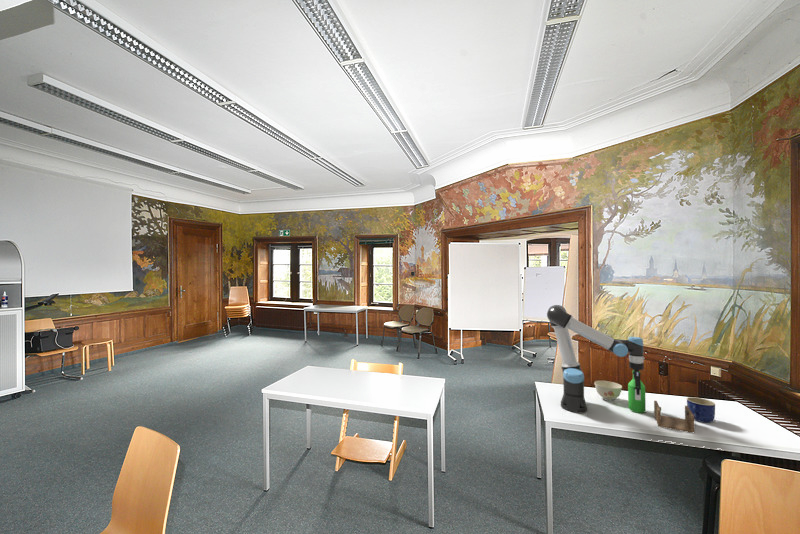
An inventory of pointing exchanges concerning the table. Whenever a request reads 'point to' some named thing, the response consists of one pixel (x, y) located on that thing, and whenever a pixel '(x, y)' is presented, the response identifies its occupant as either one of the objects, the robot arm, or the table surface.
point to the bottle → (634, 404)
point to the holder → (674, 420)
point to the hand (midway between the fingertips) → (636, 396)
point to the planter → (701, 409)
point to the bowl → (608, 389)
